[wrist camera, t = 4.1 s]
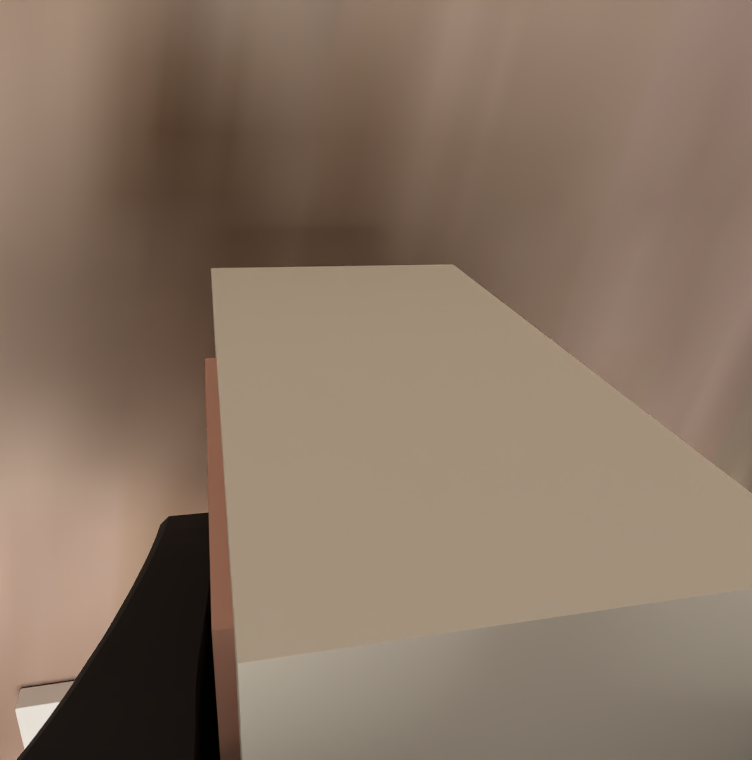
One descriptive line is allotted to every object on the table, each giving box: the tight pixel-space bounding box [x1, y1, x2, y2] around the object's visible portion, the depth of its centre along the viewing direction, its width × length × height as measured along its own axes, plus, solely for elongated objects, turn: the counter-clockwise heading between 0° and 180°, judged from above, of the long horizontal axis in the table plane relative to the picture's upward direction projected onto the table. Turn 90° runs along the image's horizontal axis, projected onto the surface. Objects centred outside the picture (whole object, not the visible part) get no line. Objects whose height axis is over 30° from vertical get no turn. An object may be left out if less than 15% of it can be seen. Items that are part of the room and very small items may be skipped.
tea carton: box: [205, 264, 752, 760], centre depth 9 cm, size 4×7×8 cm, turn 177°
